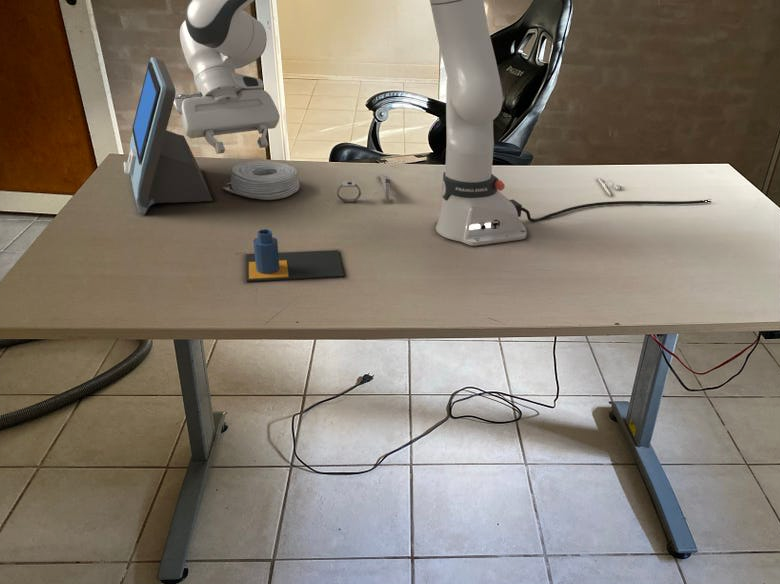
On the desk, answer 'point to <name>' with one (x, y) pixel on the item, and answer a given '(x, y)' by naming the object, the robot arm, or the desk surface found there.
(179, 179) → the touchscreen device
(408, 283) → the desk surface
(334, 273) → the desk mat
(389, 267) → the desk surface
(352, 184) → the wristwatch
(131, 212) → the desk surface
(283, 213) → the desk surface
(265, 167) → the cable
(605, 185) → the picture light
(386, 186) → the caliper
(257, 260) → the vase
